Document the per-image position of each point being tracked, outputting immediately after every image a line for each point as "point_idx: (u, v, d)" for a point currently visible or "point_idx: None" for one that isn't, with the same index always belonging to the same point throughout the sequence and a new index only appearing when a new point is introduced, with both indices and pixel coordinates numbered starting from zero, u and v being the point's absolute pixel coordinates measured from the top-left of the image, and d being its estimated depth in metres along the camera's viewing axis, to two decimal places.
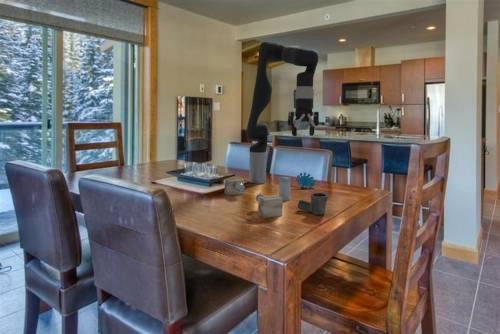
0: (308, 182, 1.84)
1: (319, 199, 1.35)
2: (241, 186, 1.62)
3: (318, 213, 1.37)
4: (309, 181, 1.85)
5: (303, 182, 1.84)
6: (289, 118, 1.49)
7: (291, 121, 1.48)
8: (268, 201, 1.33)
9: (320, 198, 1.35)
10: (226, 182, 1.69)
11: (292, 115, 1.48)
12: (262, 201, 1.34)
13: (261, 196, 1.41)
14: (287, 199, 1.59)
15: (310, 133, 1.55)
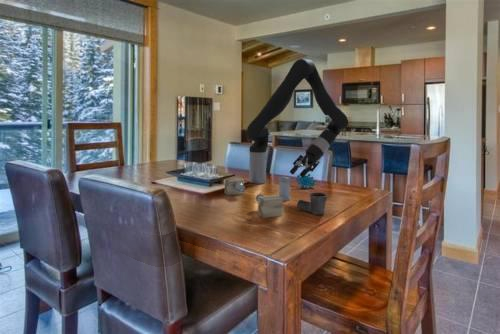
0: (308, 182, 1.84)
1: (318, 199, 1.35)
2: (241, 186, 1.62)
3: (317, 213, 1.37)
4: (309, 181, 1.85)
5: (303, 182, 1.84)
6: (315, 165, 1.57)
7: None
8: (268, 201, 1.33)
9: (320, 198, 1.35)
10: (226, 182, 1.69)
11: None
12: (262, 201, 1.34)
13: (261, 196, 1.41)
14: (287, 199, 1.59)
15: (292, 171, 1.65)
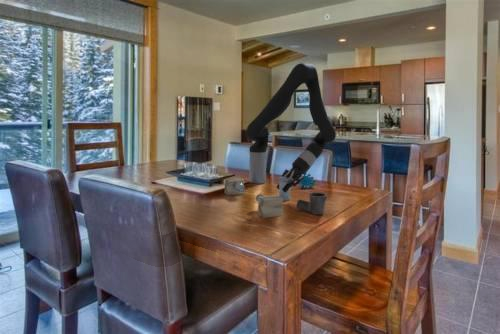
0: (308, 182, 1.85)
1: (318, 199, 1.36)
2: (241, 186, 1.62)
3: (317, 213, 1.37)
4: (309, 181, 1.85)
5: (303, 182, 1.84)
6: (298, 181, 1.55)
7: None
8: (268, 201, 1.33)
9: (319, 197, 1.35)
10: (226, 182, 1.69)
11: None
12: (262, 201, 1.34)
13: (261, 196, 1.41)
14: (287, 199, 1.59)
15: None
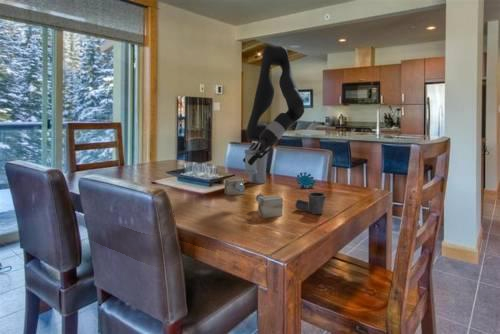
0: (308, 182, 1.85)
1: (317, 198, 1.36)
2: (241, 186, 1.62)
3: (316, 213, 1.38)
4: (309, 181, 1.85)
5: (303, 182, 1.84)
6: (264, 152, 1.46)
7: None
8: (268, 201, 1.33)
9: (318, 197, 1.36)
10: (226, 182, 1.69)
11: None
12: (262, 201, 1.34)
13: (261, 196, 1.41)
14: (253, 172, 1.50)
15: None
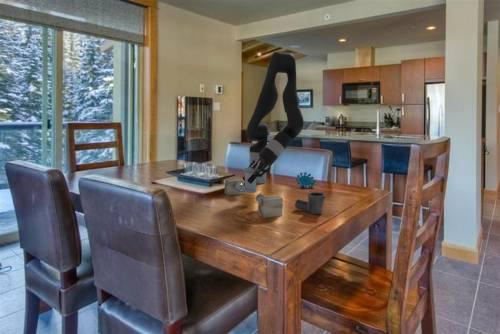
0: (308, 182, 1.85)
1: (316, 198, 1.36)
2: (241, 186, 1.62)
3: (315, 213, 1.38)
4: (309, 181, 1.85)
5: (302, 182, 1.85)
6: (263, 171, 1.48)
7: None
8: (268, 201, 1.33)
9: (318, 197, 1.36)
10: (226, 182, 1.69)
11: None
12: (262, 201, 1.34)
13: (261, 196, 1.41)
14: (253, 191, 1.51)
15: None
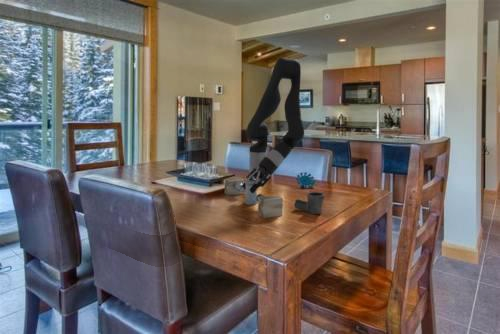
0: (308, 182, 1.85)
1: (316, 198, 1.36)
2: (241, 186, 1.62)
3: (315, 212, 1.38)
4: (309, 181, 1.85)
5: (302, 182, 1.85)
6: (265, 180, 1.48)
7: None
8: (268, 201, 1.33)
9: (317, 197, 1.36)
10: (226, 182, 1.69)
11: None
12: (262, 201, 1.34)
13: (261, 196, 1.41)
14: (254, 203, 1.52)
15: (244, 186, 1.56)
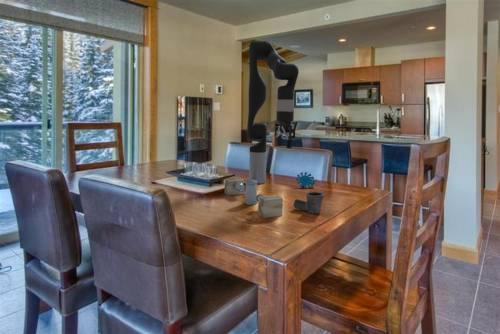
0: (308, 182, 1.85)
1: (315, 198, 1.37)
2: (241, 186, 1.62)
3: (314, 212, 1.38)
4: (309, 181, 1.86)
5: (302, 181, 1.85)
6: (293, 131, 1.50)
7: None
8: (268, 201, 1.33)
9: (316, 197, 1.36)
10: (226, 182, 1.69)
11: None
12: (262, 201, 1.34)
13: (261, 196, 1.41)
14: (254, 203, 1.52)
15: (279, 144, 1.61)
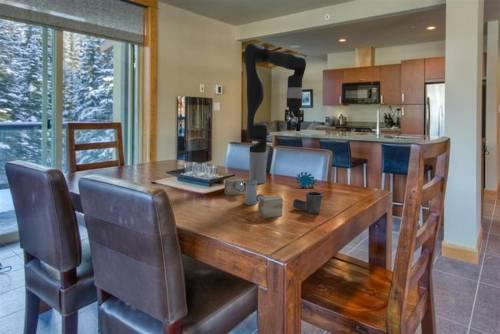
0: (307, 181, 1.86)
1: (314, 198, 1.37)
2: (241, 186, 1.62)
3: (313, 212, 1.39)
4: (309, 181, 1.86)
5: (302, 181, 1.86)
6: (302, 115, 1.68)
7: None
8: (268, 201, 1.33)
9: (315, 197, 1.37)
10: (226, 182, 1.69)
11: None
12: (262, 201, 1.34)
13: (261, 196, 1.41)
14: (254, 203, 1.52)
15: (289, 128, 1.78)
